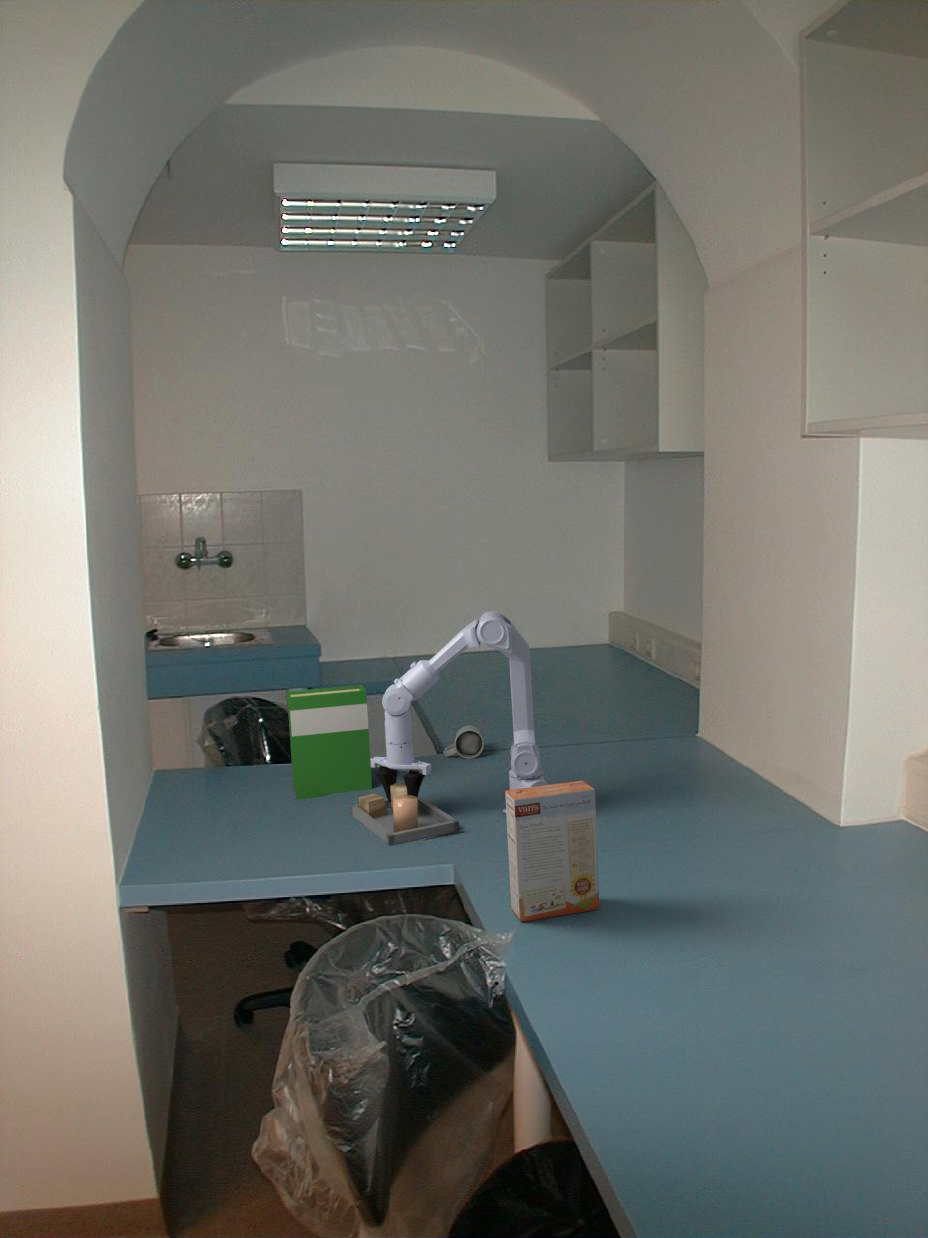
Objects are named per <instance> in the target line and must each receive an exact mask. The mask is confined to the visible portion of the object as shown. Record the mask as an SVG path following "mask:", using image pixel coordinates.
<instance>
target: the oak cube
mask: <svg viewBox="0 0 928 1238" xmlns="http://www.w3.org/2000/svg"><path fill="white" fill-rule="evenodd" d="M384 799H385V797H383V796H382V795H379V794H377V793H372V794H367V795H364V796H359V797H358V804H359V808H360V809H362V810H363V811H364V812H365V813H367V814H368V815H369V816H371V817H372V818H373V819H375V818H379V817H382V816H385V801H384Z"/></svg>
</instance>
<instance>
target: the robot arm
mask: <svg viewBox="0 0 928 1238" xmlns="http://www.w3.org/2000/svg"><path fill="white" fill-rule="evenodd" d="M477 620H478V621H477ZM481 644H482V645H484V646H486V647H489V648H492V649H495V650H497V651H499V652H500V653H501V654H502V655H504V656H505V657H506V658H507V659H508V663H509V675H510V677H509V678H510V679H509V680H510V692H511V693H510V695H511V710H512V711H511V714H512V727H513V728H512V729H513V742H512V745H511V746H510V752H509V753H510V754H509V755H510V757H511V760H510V767H511V769H510V770H509V771H508V776H509V777H508V779H509V790H513V789H521V788H529V787H537V786H545V785H550V784H549V783H548V782H547V781H546V780H545V777H544V770H543V768H542V767H541V766H542V760H541V759H542V758H541V757H540V747H539V745H538V743H537V742H536V736H535V735H536V734H535V720H534V702H533V701H534V700H533V682H532V680H533V679H532V666H531V664H532V662H531V652H530V651H531V650H530V646H529V643H528V642H527V640H526V639H525V638H524V637H523V634H521V633H520V631H519V630H518V629H517V628H516V626H515V625H514V623H513V622H512V620H511V619H510V618H509V617H507V616H505V615H504V614H502V613H501V612H498V611H496V610H488V611H486V612H484V613H482V615H480V617H479V619H477V618H476V619H474V620H473V621H471V622H470V623H469V624H467V625H466V626H465V627H463V628H462V629H461V630H460V631H459V632H458V633H457V634H456V635H455V636H453V638H452V639H451V640H449V641H448V642H447V643H446V644H445V645H444V646H443V647H442V648H441V649H440V650H439V651H438V652H437V653H436V654H435V655H434V656H433V657H431V658H430V659H428V660H425V659H424V660H423V659H421V660H419V661H418V662H416V661H413V662H412V663H411V664H410V666H409V667H410V669H409V670H408V671H406V673H404V674H403V675H402V676H401V677H400V678H398V677H397V678H395V679H394V680H393V683H394V684H391V685H390V686H388V687H387V689H386V690H385V692H384V693H383V695H382V700H381V702H382V708H383V709H384V718H385V720H384V733H385V734H384V735H385V751H386V753H385V754H386V756H374V757H372V758H371V757H370V763H371V769H372V768H378V770H377V771H375V776H376V778H377V779H378V780H379V782H380V784H381V787H383V790H384V793H385V796H386V799H387V800H388V802H389V803H391V788H390V786H391V785H392V784H394V783H397V777H398V772H399V771H404V772H408V773H406V774H403V775H402V778H403V780H404V782H405V784H406V788H407V795H412V796H415V797H417V798H418V795H419V793H420V789H421V786H422V783H423V781H424V778H425V777H426V776H427V775H430V774H432V763H427V762H424V761H421V760H418V759H415V757H414V744H413V741H414V740H413V724H412V718H411V708H410V706H411V703H412V702H414V701H417V700H418V699H419V698H421V697H422V696H423V695H424V694H425V693H426V692H427V691H429V689H430V688H431V687H433V686H434V685H436V684H437V683H438V682H439V679H440V672H441V671H442V670H443V669H444V668H445V667H446V666H448V665H449V664H450V663H452V662H453V661H454V660H455V659H456V658H457V657H458V656H460V655H461V654H462V653H463V652H465V651H466V650H468V649H476V648H480V647H481ZM502 813H504V814H506V808H504V809H502Z"/></svg>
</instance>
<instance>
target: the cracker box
mask: <svg viewBox="0 0 928 1238" xmlns="http://www.w3.org/2000/svg"><path fill="white" fill-rule="evenodd" d="M504 793H505V796H504V797H505V809H506V813H505V816H506V831H507V832H506V833H507V836H506V837H507V848H508V850H507V852H508V867H509V868H508V869H509V870H508V871H509V886H510V887H509V888H510V892H509V893H510V907H511V910H512V912H513V913H514V914H515V916H516V917H517V918H518V920H519V921H520V922H529V921H533V920H540V919H547V918H551V917H559V916H566V915H571V914H572V915H573V914H577V913H584V912H591V911H596V910H600V884H599V883H600V882H599V881H600V878H599V855H598V854H599V853H598V852H599V851H598V831H597V830H598V829H597V807H596V805H597V803H596V789H595V787H592V786H591V785H590V784H588V783H587V782H586V781H584V780H577V781H569V782H560V783H554V784H553V783H552V784H549V785H545V786H537V787H529V788H521V789H513V790H510V789H508V790H505V791H504Z"/></svg>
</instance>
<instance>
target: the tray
mask: <svg viewBox="0 0 928 1238" xmlns="http://www.w3.org/2000/svg"><path fill="white" fill-rule="evenodd" d="M384 801H385V816H382V817H379V818H375V819H373V818H372V817H371V816H369V815H368V814H367V813H365V812H364V811H363V810H362V809H360V808H359V803H356V804H351V805H349V812H350V815H351V816H353V818H355V819H356V820H357V821H358V822H360V823H361V824H362V825H363V826H364V827H365V828H367V829H368V830H369V831H371V832H372V833H373V834H375V836H377V837H378V838H379V839H380V840H382V841H383V843H386V844H387V845H388V846H393V845H398V844H402V843H407V842H412V841H417V840H422V839H425V841H427V840H433V839H436V838H441V837H445V836H446V837H447V836H451V835H455V834H459V833H460V822H459V821H458V820H457V819H456V818H454V817H453V816H452V815H449V814H448V813H447V812H445V811H443V810H442V809H440V808H439V807H438V806H436V805H434V804H432V803H431V802H429V801H428V800H426V799H425V798H423V797H422V796H420V795H419V794H418V828H414V829H410V830H405V831H400V832H395V831H394V824H393V812H392V809H391V803H389V802H388V800H387V798H384Z"/></svg>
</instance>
